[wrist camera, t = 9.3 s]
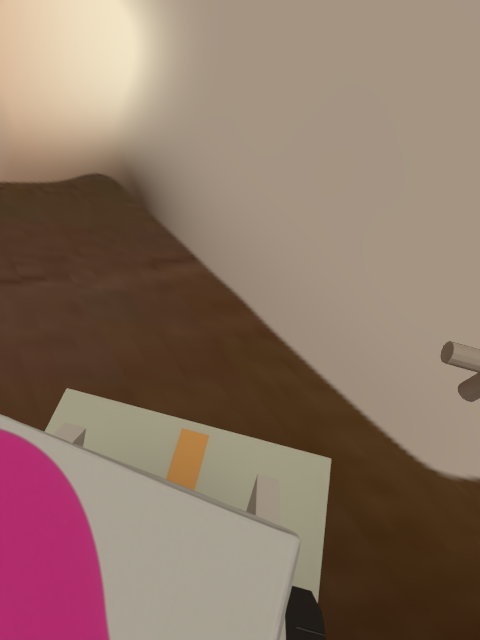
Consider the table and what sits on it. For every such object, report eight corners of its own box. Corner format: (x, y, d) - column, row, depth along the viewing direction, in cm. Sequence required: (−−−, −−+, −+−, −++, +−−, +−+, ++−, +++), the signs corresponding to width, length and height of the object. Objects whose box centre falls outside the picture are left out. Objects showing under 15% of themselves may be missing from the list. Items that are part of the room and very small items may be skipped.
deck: (294, 709, 22) (307, 727, 20) (-32, 618, 22) (-57, 626, 20) (320, 465, 30) (332, 458, 27) (75, 399, 30) (66, 387, 28)
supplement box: (103, 487, 16) (-3, 395, 6) (232, 543, 16) (328, 535, 6) (14, 657, 13) (-455, 980, 3) (172, 731, 13) (170, 1331, 3)
